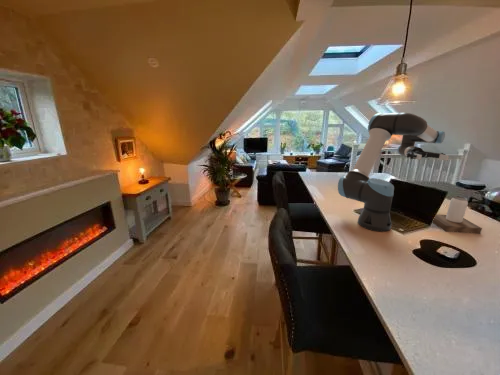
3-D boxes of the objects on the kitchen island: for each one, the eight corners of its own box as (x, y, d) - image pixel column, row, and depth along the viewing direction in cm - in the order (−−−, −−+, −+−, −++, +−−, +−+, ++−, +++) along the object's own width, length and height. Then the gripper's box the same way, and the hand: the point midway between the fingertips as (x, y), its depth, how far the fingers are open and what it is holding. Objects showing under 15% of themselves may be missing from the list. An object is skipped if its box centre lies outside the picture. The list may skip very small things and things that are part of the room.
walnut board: (445, 231, 110) (446, 225, 110) (427, 218, 125) (428, 213, 124) (480, 233, 108) (482, 228, 107) (457, 220, 122) (459, 215, 122)
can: (465, 223, 112) (472, 201, 108) (450, 222, 113) (456, 199, 110) (457, 218, 118) (463, 196, 114) (442, 217, 119) (448, 195, 116)
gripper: (433, 159, 145) (457, 165, 125) (391, 157, 149) (408, 163, 129) (436, 147, 143) (461, 151, 123) (394, 146, 147) (410, 150, 127)
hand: (434, 157), depth 126 cm, fingers open, 13 cm apart
